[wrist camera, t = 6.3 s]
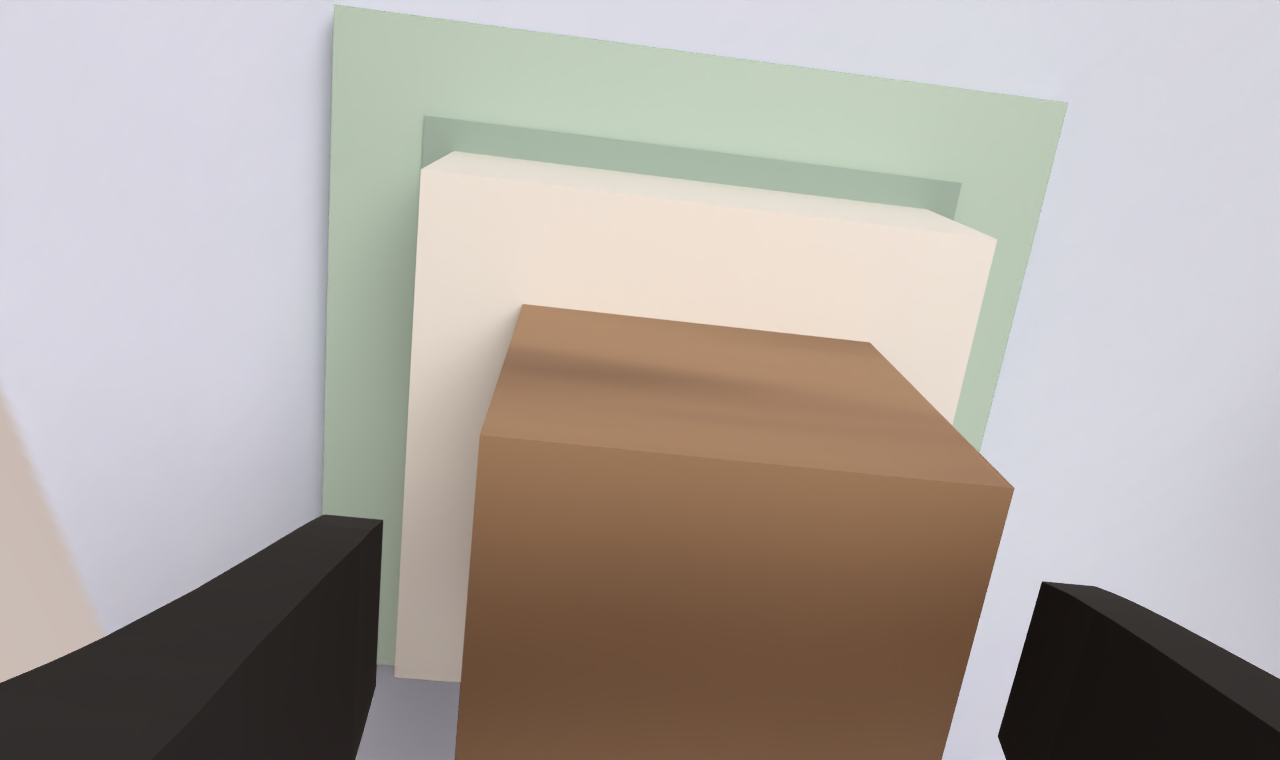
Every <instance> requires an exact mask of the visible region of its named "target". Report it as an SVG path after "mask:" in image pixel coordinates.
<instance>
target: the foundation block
mask: <svg viewBox="0 0 1280 760" xmlns="http://www.w3.org/2000/svg"><path fill="white" fill-rule="evenodd" d="M996 243H997V239H996V238H993V237H991V236H988V235H986V234H984V233H981V232H979V231H977V230H974V229H972V228H970V227H967V226H965V225H963V224H960V223H958V222H956V221H953V220H951V219H949V218H946V217H944V216H942V215H939V214H937V213H934V212H932V211H930V210H927V209H921V208H912V207H904V206H896V205H888V204H880V203H872V202H864V201H856V200H848V199H839V198H831V197H823V196H815V195H807V194H799V193H791V192H783V191H774V190H766V189H758V188H750V187H742V186H734V185H726V184H718V183H709V182H701V181H693V180H685V179H677V178H669V177H661V176H653V175H645V174H636V173H628V172H620V171H612V170H604V169H596V168H588V167H580V166H571V165H563V164H555V163H547V162H539V161H531V160H523V159H515V158H506V157H498V156H490V155H482V154H474V153H466V152H458V151H453V152H451V153H449V154H448V155H446V156H444V157H442V158H440V159H439V160H437V161H435V162H433V163H432V164H430V165H428V166H426V167H424V168H423V169H421V178H420V197H419V216H418V235H417V254H416V273H415V292H414V311H413V331H412V350H411V369H410V388H409V407H408V426H407V445H406V464H405V483H404V502H403V521H402V540H401V560H400V579H399V598H398V617H397V636H396V655H395V674H394V677H396V678H409V679H421V680H434V681H446V682H459V683H461V671H462V658H463V645H464V632H465V619H466V606H467V593H468V580H469V567H470V554H471V541H472V528H473V516H474V503H475V490H476V477H477V464H478V451H479V438H480V433H481V430H482V426H483V423H484V420H485V417H486V414H487V411H488V408H489V405H490V402H491V399H492V396H493V393H494V390H495V387H496V384H497V381H498V378H499V375H500V372H501V369H502V366H503V363H504V360H505V357H506V354H507V351H508V347H509V344H510V341H511V338H512V335H513V332H514V329H515V326H516V323H517V320H518V317H519V314H520V311H521V308H522V305H523V304H528V305H537V306H546V307H555V308H564V309H573V310H582V311H591V312H600V313H609V314H618V315H627V316H636V317H645V318H654V319H663V320H672V321H681V322H690V323H699V324H709V325H718V326H727V327H736V328H745V329H754V330H763V331H772V332H781V333H790V334H799V335H808V336H817V337H826V338H835V339H844V340H853V341H862V342H870V343H871V344H872V345H873V346H874V347H875V348H876V349H877V350H878V351H879V352H880V353H881V354H882V355H883V356H884V357H885V358H886V359H887V360H888V361H889V362H890V363H891V364H892V365H893V366H894V367H895V368H896V369H897V370H898V371H899V372H900V373H901V374H902V375H903V376H904V377H905V378H906V379H907V380H908V381H909V382H910V383H911V384H912V385H913V386H914V387H915V389H916V390H917V391H918V392H919V393H920V394H921V395H922V396H923V397H924V398H925V399H926V400H927V401H928V402H929V403H930V404H931V405H932V406H933V407H934V408H935V409H936V410H937V411H938V412H939V413H940V414H941V415H942V416H943V417H944V418H945V419H946V420H947V421H948V422H949V423H950V424H951V425H953V421H954V417H955V413H956V409H957V404H958V400H959V396H960V392H961V388H962V384H963V380H964V375H965V371H966V367H967V363H968V359H969V355H970V351H971V347H972V342H973V338H974V334H975V330H976V326H977V322H978V318H979V314H980V309H981V305H982V301H983V297H984V293H985V289H986V285H987V280H988V276H989V272H990V268H991V264H992V260H993V256H994V252H995V247H996Z"/></svg>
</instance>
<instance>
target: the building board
mask: <svg viewBox="0 0 1280 760" xmlns="http://www.w3.org/2000/svg"><path fill="white" fill-rule="evenodd" d="M1067 106H1068V103H1067V102H1059V101H1052V100H1044V99H1037V98H1029V97H1022V96H1014V95H1007V94H999V93H992V92H984V91H977V90H969V89H962V88H954V87H947V86H940V85H932V84H925V83H917V82H910V81H902V80H895V79H887V78H880V77H872V76H865V75H857V74H850V73H842V72H835V71H827V70H820V69H812V68H805V67H797V66H790V65H782V64H775V63H767V62H760V61H753V60H745V59H738V58H730V57H723V56H715V55H708V54H700V53H693V52H685V51H678V50H670V49H663V48H655V47H648V46H640V45H633V44H625V43H618V42H610V41H603V40H596V39H588V38H581V37H573V36H566V35H558V34H551V33H543V32H536V31H528V30H521V29H513V28H506V27H498V26H491V25H483V24H476V23H468V22H461V21H453V20H446V19H438V18H431V17H423V16H416V15H409V14H401V13H394V12H386V11H379V10H371V9H364V8H356V7H349V6H341V5H334V24H333V67H332V110H331V153H330V196H329V239H328V281H327V324H326V367H325V410H324V453H323V495H322V515H324V514H326V515H337V516H347V517H358V518H369V519H379V520H383V538H382V560H381V582H380V603H379V625H378V646H377V665H389V666H395V655H396V636H397V617H398V598H399V579H400V560H401V540H402V521H403V502H404V483H405V464H406V445H407V426H408V407H409V388H410V369H411V350H412V331H413V311H414V292H415V273H416V254H417V235H418V216H419V197H420V178H421V169H423V168H424V167H426V166H428V165H430V164H432V163H433V162H435V161H437V160H439V159H440V158H442V157H444V156H446V155H448V154H449V153H451V152H453V151H458V152H466V153H474V154H482V155H490V156H498V157H506V158H515V159H523V160H531V161H539V162H547V163H555V164H563V165H571V166H580V167H588V168H596V169H604V170H612V171H620V172H628V173H636V174H645V175H653V176H661V177H669V178H677V179H685V180H693V181H701V182H709V183H718V184H726V185H734V186H742V187H750V188H758V189H766V190H774V191H783V192H791V193H799V194H807V195H815V196H823V197H831V198H839V199H848V200H856V201H864V202H872V203H880V204H888V205H896V206H904V207H912V208H921V209H927V210H930V211H932V212H934V213H937V214H939V215H942V216H944V217H946V218H949V219H951V220H953V221H956V222H958V223H960V224H963V225H965V226H967V227H970V228H972V229H974V230H977V231H979V232H981V233H984V234H986V235H988V236H991V237H993V238H996V239H997V243H996V247H995V252H994V256H993V260H992V264H991V268H990V272H989V276H988V280H987V285H986V289H985V293H984V297H983V301H982V305H981V309H980V314H979V318H978V322H977V326H976V330H975V334H974V338H973V342H972V347H971V351H970V355H969V359H968V363H967V367H966V371H965V375H964V380H963V384H962V388H961V392H960V396H959V400H958V404H957V409H956V413H955V417H954V421H953V425H952V426H953V427H954V428H955V429H956V430H957V431H958V432H959V433H960V434H961V435H962V436H963V437H964V438H965V439H966V440H967V441H968V442H969V443H970V444H971V445H972V446H973V447H974V448H975V449H976V450H977V451H978V452H980V448H981V444H982V440H983V436H984V432H985V428H986V425H987V421H988V417H989V413H990V409H991V405H992V401H993V397H994V393H995V389H996V385H997V381H998V377H999V373H1000V369H1001V365H1002V362H1003V358H1004V354H1005V350H1006V346H1007V342H1008V338H1009V334H1010V330H1011V326H1012V322H1013V318H1014V314H1015V310H1016V306H1017V302H1018V299H1019V295H1020V291H1021V287H1022V283H1023V279H1024V275H1025V271H1026V267H1027V263H1028V259H1029V255H1030V251H1031V247H1032V243H1033V239H1034V236H1035V232H1036V228H1037V224H1038V220H1039V216H1040V212H1041V208H1042V204H1043V200H1044V196H1045V192H1046V188H1047V184H1048V180H1049V176H1050V172H1051V169H1052V165H1053V161H1054V157H1055V153H1056V149H1057V145H1058V141H1059V137H1060V133H1061V129H1062V125H1063V121H1064V117H1065V113H1066V109H1067Z"/></svg>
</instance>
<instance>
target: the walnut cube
mask: <svg viewBox="0 0 1280 760" xmlns="http://www.w3.org/2000/svg"><path fill="white" fill-rule="evenodd" d="M1013 492H1014V487H1013V486H1012V485H1011V484H1010V483H1009V482H1008V481H1007V480H1006V479H1005V478H1004V477H1003V476H1002V475H1001V474H1000V473H999V472H998V471H997V470H996V469H995V468H994V467H993V466H992V465H991V464H990V463H989V462H988V461H987V460H986V459H985V458H984V457H983V456H982V455H981V454H980V453H979V452H978V451H977V450H976V449H975V448H974V447H973V446H972V445H971V444H970V443H969V442H968V441H967V440H966V439H965V438H964V437H963V436H962V435H961V434H960V433H959V432H958V431H957V430H956V429H955V428H954V427H953V426H952V425H951V424H950V423H949V422H948V421H947V420H946V419H945V418H944V417H943V416H942V415H941V414H940V413H939V412H938V411H937V410H936V409H935V408H934V407H933V406H932V405H931V404H930V403H929V402H928V401H927V400H926V399H925V398H924V397H923V396H922V395H921V394H920V393H919V392H918V391H917V390H916V389H915V387H914V386H913V385H912V384H911V383H910V382H909V381H908V380H907V379H906V378H905V377H904V376H903V375H902V374H901V373H900V372H899V371H898V370H897V369H896V368H895V367H894V366H893V365H892V364H891V363H890V362H889V361H888V360H887V359H886V358H885V357H884V356H883V355H882V354H881V353H880V352H879V351H878V350H877V349H876V348H875V347H874V346H873V345H872V344H871V343H870V342H862V341H853V340H844V339H835V338H826V337H817V336H808V335H799V334H790V333H781V332H772V331H763V330H754V329H745V328H736V327H727V326H718V325H709V324H699V323H690V322H681V321H672V320H663V319H654V318H645V317H636V316H627V315H618V314H609V313H600V312H591V311H582V310H573V309H564V308H555V307H546V306H537V305H528V304H523V305H522V308H521V311H520V314H519V317H518V320H517V323H516V326H515V329H514V332H513V335H512V338H511V341H510V344H509V347H508V351H507V354H506V357H505V360H504V363H503V366H502V369H501V372H500V375H499V378H498V381H497V384H496V387H495V390H494V393H493V396H492V399H491V402H490V405H489V408H488V411H487V414H486V417H485V420H484V423H483V426H482V430H481V433H480V438H479V451H478V464H477V477H476V490H475V503H474V516H473V528H472V541H471V554H470V567H469V580H468V593H467V606H466V619H465V632H464V645H463V658H462V671H461V684H460V697H459V710H458V723H457V736H456V749H455V760H941V759H942V756H943V752H944V748H945V744H946V741H947V737H948V733H949V730H950V726H951V722H952V718H953V715H954V711H955V707H956V704H957V700H958V696H959V692H960V689H961V685H962V681H963V678H964V674H965V670H966V666H967V663H968V659H969V655H970V651H971V648H972V644H973V640H974V637H975V633H976V629H977V625H978V622H979V618H980V614H981V611H982V607H983V603H984V599H985V596H986V592H987V588H988V585H989V581H990V577H991V573H992V570H993V566H994V562H995V559H996V555H997V551H998V547H999V544H1000V540H1001V536H1002V532H1003V529H1004V525H1005V521H1006V518H1007V514H1008V510H1009V506H1010V503H1011V499H1012V495H1013Z"/></svg>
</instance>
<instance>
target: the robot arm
mask: <svg viewBox="0 0 1280 760" xmlns="http://www.w3.org/2000/svg"><path fill="white" fill-rule="evenodd" d="M382 538H383V520H379V519H369V518H358V517H347V516H337V515H326V514H324V515H322V516H320V517H318V518H316V519H314V520H312V521H310V522H309V523H307V524H305V525H303V526H302V527H300V528H298V529H296V530H295V531H293V532H291V533H290V534H288V535H286V536H285V537H283V538H281V539H280V540H278V541H276V542H275V543H273V544H271V545H270V546H268V547H266V548H265V549H263V550H261V551H260V552H258V553H257V554H255V555H253V556H251V557H250V558H248V559H246V560H245V561H243V562H241V563H240V564H238V565H236V566H234V567H233V568H231V569H229V570H228V571H226V572H224V573H222V574H221V575H219V576H217V577H216V578H214V579H212V580H211V581H209V582H207V583H205V584H204V585H202V586H200V587H199V588H197V589H195V590H193V591H191V592H190V593H188V594H186V595H184V596H182V597H180V598H178V599H176V600H174V601H172V602H170V603H169V604H167V605H165V606H163V607H161V608H159V609H157V610H155V611H153V612H151V613H150V614H148V615H146V616H144V617H142V618H140V619H138V620H136V621H134V622H132V623H130V624H129V625H127V626H125V627H123V628H121V629H119V630H117V631H115V632H113V633H111V634H109V635H108V636H106V637H104V638H101V639H99V640H97V641H95V642H93V643H91V644H89V645H87V646H85V647H83V648H81V649H79V650H76V651H74V652H72V653H70V654H67V655H65V656H63V657H61V658H58V659H56V660H54V661H52V662H50V663H47V664H45V665H43V666H40V667H38V668H35V669H33V670H31V671H28V672H26V673H23V674H21V675H19V676H16V677H14V678H11V679H9V680H7V681H4V682H2V683H0V760H355V758H356V755H357V751H358V748H359V745H360V741H361V738H362V734H363V731H364V727H365V723H366V720H367V716H368V712H369V709H370V705H371V701H372V698H373V694H374V690H375V687H376V668H377V646H378V625H379V603H380V582H381V560H382ZM998 738H999V741H1000V744H1001V746H1002V749H1003V752H1004V755H1005V758H1006V760H1280V679H1279V678H1277V677H1275V676H1273V675H1271V674H1269V673H1268V672H1266V671H1264V670H1262V669H1260V668H1258V667H1256V666H1255V665H1253V664H1251V663H1249V662H1247V661H1245V660H1243V659H1242V658H1240V657H1238V656H1236V655H1234V654H1232V653H1230V652H1229V651H1227V650H1225V649H1223V648H1221V647H1219V646H1217V645H1216V644H1214V643H1212V642H1210V641H1208V640H1206V639H1204V638H1202V637H1201V636H1199V635H1197V634H1195V633H1193V632H1191V631H1189V630H1187V629H1186V628H1184V627H1182V626H1180V625H1178V624H1176V623H1174V622H1172V621H1170V620H1168V619H1167V618H1165V617H1163V616H1161V615H1159V614H1157V613H1155V612H1153V611H1151V610H1149V609H1147V608H1145V607H1143V606H1140V605H1138V604H1136V603H1134V602H1132V601H1130V600H1128V599H1125V598H1123V597H1121V596H1118V595H1116V594H1114V593H1111V592H1109V591H1106V590H1103V589H1101V588H1098V587H1095V586H1085V585H1074V584H1064V583H1053V582H1042V584H1041V587H1040V591H1039V594H1038V598H1037V601H1036V605H1035V608H1034V612H1033V615H1032V619H1031V622H1030V626H1029V629H1028V633H1027V636H1026V640H1025V643H1024V647H1023V650H1022V654H1021V657H1020V661H1019V664H1018V668H1017V671H1016V675H1015V678H1014V682H1013V685H1012V689H1011V692H1010V696H1009V699H1008V703H1007V706H1006V710H1005V713H1004V716H1003V720H1002V723H1001V727H1000V730H999V734H998Z"/></svg>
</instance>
